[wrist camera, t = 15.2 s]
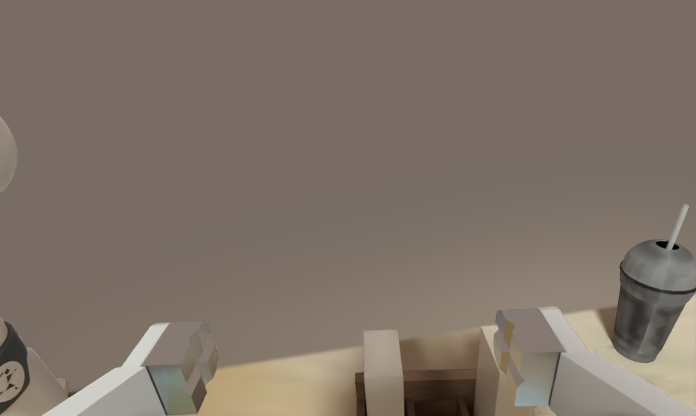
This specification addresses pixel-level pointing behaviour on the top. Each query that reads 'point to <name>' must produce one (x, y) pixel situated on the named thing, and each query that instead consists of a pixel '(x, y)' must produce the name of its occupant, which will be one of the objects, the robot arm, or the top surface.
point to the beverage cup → (652, 294)
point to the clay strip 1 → (383, 373)
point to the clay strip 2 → (493, 382)
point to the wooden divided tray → (431, 392)
